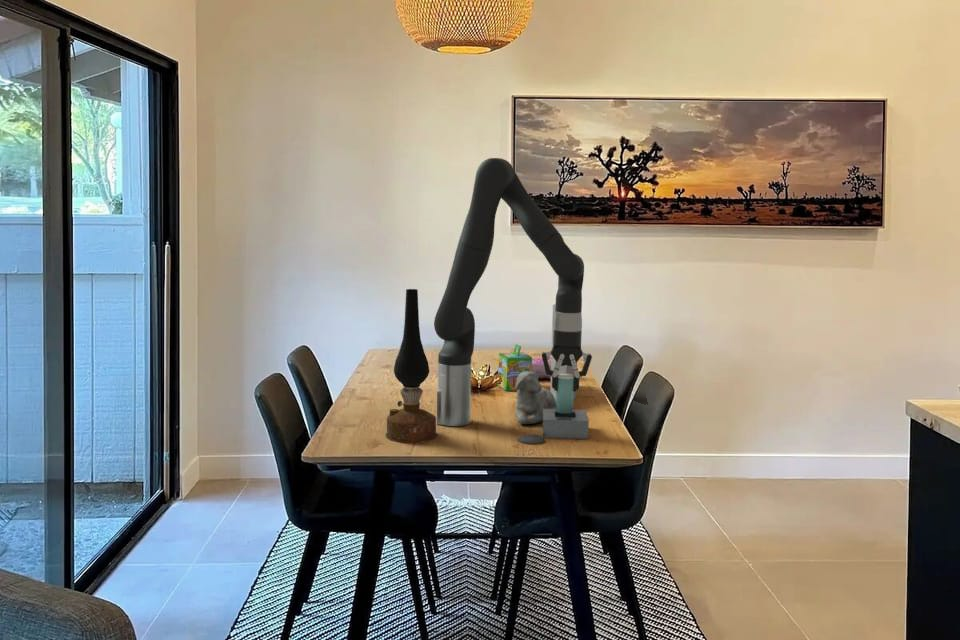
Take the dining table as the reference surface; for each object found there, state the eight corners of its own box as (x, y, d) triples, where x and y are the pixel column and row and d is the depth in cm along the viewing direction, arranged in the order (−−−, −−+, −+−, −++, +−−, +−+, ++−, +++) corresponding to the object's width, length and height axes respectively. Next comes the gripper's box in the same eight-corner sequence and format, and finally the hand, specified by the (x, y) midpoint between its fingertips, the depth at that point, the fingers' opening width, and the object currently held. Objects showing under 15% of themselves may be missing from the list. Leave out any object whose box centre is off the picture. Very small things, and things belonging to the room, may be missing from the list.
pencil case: (560, 376, 308) (561, 351, 307) (569, 381, 300) (570, 356, 298) (504, 378, 303) (504, 353, 302) (511, 383, 294) (511, 358, 293)
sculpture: (511, 426, 238) (512, 373, 236) (523, 409, 258) (525, 360, 256) (549, 428, 235) (551, 375, 233) (559, 411, 256) (561, 362, 254)
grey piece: (572, 411, 256) (575, 312, 252) (545, 409, 257) (547, 311, 253) (578, 386, 291) (581, 299, 287) (554, 385, 293) (556, 299, 289)
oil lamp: (445, 449, 226) (479, 303, 222) (401, 449, 215) (436, 296, 212) (412, 432, 236) (444, 292, 232) (369, 432, 225) (402, 285, 221)
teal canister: (556, 413, 229) (557, 376, 227) (555, 409, 233) (557, 373, 232) (573, 413, 228) (574, 377, 227) (572, 409, 233) (573, 373, 232)
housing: (542, 437, 226) (543, 419, 225) (542, 426, 238) (542, 408, 237) (588, 439, 225) (588, 420, 224) (585, 427, 237) (585, 410, 236)
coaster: (517, 443, 220) (517, 441, 220) (518, 436, 227) (518, 434, 227) (544, 444, 219) (545, 442, 219) (544, 437, 226) (544, 435, 226)
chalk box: (497, 386, 290) (497, 343, 288) (522, 384, 292) (523, 342, 290) (505, 391, 281) (506, 347, 279) (531, 390, 284) (532, 346, 282)
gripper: (541, 329, 224) (539, 392, 227) (595, 331, 224) (592, 394, 226) (540, 325, 232) (538, 386, 234) (593, 327, 231) (590, 388, 233)
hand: (565, 390), depth 230 cm, fingers closed on teal canister, 4 cm apart
